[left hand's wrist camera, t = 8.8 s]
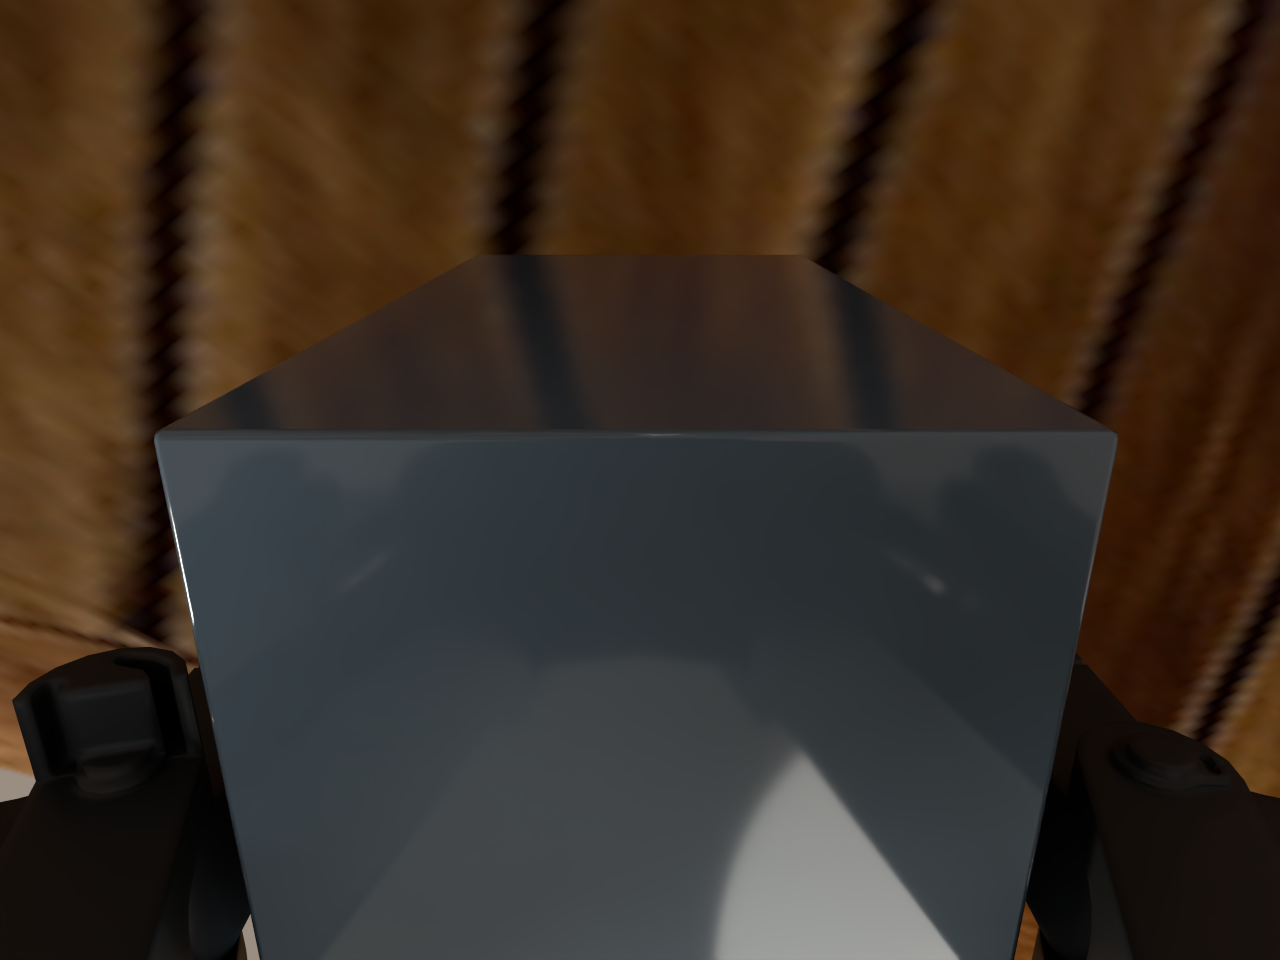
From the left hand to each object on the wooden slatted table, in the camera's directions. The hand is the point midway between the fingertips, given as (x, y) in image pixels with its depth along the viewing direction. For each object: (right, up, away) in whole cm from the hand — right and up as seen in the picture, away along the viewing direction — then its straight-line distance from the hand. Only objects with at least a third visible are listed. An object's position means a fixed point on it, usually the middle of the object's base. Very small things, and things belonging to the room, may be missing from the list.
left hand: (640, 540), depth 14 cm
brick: (0, +1, +3) cm, 3 cm away
